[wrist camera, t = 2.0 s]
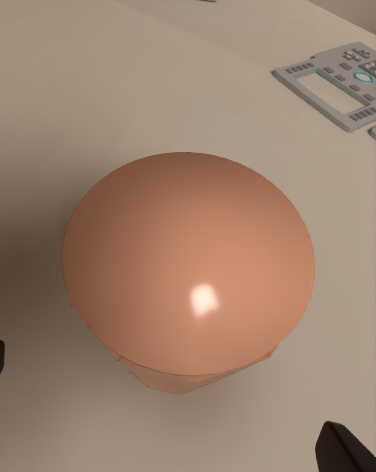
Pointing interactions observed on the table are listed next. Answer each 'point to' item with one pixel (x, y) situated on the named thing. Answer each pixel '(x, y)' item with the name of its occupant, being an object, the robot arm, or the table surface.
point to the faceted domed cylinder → (187, 267)
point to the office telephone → (339, 82)
